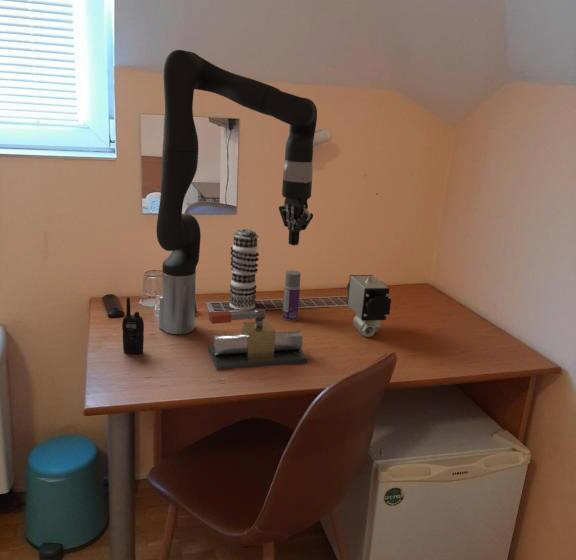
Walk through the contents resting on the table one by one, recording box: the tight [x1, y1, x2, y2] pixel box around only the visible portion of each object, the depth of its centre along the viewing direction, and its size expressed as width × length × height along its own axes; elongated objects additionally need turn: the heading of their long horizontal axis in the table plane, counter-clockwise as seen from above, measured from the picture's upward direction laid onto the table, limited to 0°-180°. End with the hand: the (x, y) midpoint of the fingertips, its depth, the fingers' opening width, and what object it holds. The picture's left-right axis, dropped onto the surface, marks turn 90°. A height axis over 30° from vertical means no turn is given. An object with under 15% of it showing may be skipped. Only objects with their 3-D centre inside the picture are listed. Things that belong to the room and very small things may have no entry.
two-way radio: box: [121, 297, 145, 355], centre depth 151 cm, size 6×4×15 cm
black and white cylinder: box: [228, 228, 260, 311], centre depth 189 cm, size 9×9×25 cm
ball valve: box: [346, 274, 392, 338], centre depth 175 cm, size 18×8×18 cm, turn 14°
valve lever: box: [208, 308, 267, 325], centre depth 150 cm, size 14×3×2 cm, turn 112°
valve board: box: [207, 319, 309, 371], centre depth 154 cm, size 24×12×11 cm, turn 107°
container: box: [282, 270, 301, 322], centre depth 182 cm, size 5×5×15 cm
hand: (293, 244), depth 155 cm, fingers closed
